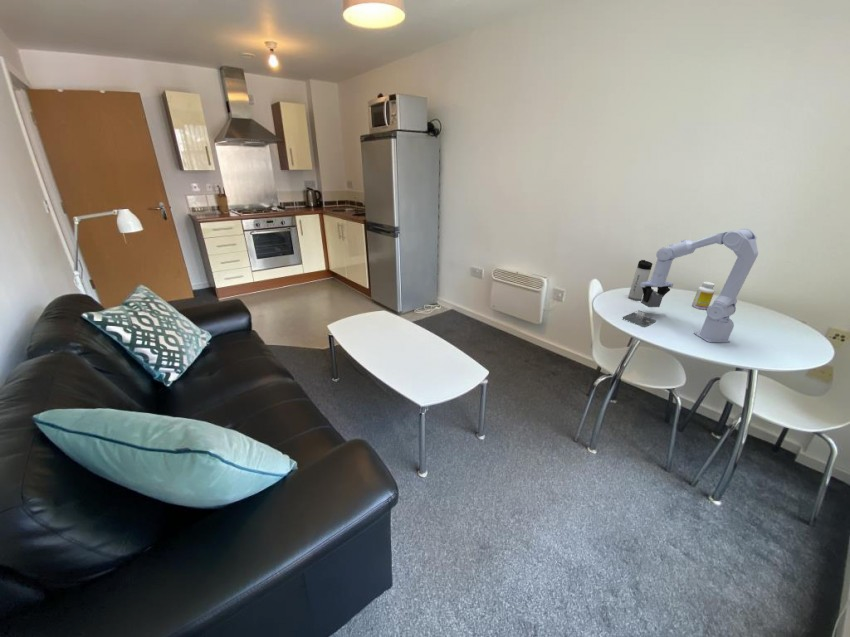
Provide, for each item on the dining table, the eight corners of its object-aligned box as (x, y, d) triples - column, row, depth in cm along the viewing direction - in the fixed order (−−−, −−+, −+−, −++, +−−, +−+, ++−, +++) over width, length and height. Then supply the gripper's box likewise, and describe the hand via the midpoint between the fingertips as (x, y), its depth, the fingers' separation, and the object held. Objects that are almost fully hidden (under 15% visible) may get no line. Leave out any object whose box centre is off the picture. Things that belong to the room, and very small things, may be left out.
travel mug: (637, 296, 189) (649, 260, 180) (643, 301, 183) (655, 263, 174) (625, 295, 189) (636, 259, 181) (631, 300, 183) (642, 262, 175)
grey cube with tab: (651, 302, 168) (655, 290, 165) (659, 307, 163) (663, 294, 160) (640, 302, 167) (644, 290, 165) (648, 307, 163) (652, 294, 160)
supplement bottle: (710, 310, 175) (720, 285, 169) (697, 309, 175) (707, 285, 169) (701, 304, 181) (710, 281, 175) (688, 304, 181) (697, 280, 175)
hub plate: (633, 314, 166) (635, 305, 164) (655, 322, 159) (658, 313, 157) (622, 318, 161) (624, 309, 159) (644, 327, 154) (647, 318, 152)
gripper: (669, 270, 163) (659, 298, 169) (639, 270, 162) (631, 298, 167) (680, 275, 157) (670, 303, 162) (649, 275, 155) (641, 304, 161)
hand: (651, 301), depth 164 cm, fingers closed on grey cube with tab, 5 cm apart
